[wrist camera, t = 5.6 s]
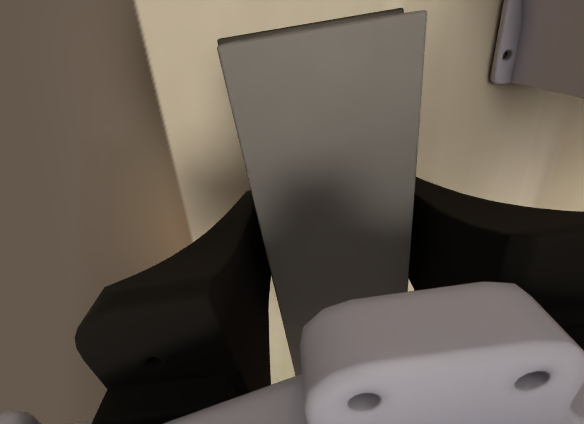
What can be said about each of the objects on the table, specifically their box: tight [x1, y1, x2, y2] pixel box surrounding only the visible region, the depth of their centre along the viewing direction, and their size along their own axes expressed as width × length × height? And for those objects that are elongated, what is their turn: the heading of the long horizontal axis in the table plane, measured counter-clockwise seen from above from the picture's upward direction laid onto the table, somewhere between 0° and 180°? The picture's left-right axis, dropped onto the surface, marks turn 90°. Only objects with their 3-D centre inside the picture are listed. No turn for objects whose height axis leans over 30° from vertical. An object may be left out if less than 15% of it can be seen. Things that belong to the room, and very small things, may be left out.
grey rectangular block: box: [217, 8, 427, 376], centre depth 11 cm, size 12×4×6 cm, turn 8°
